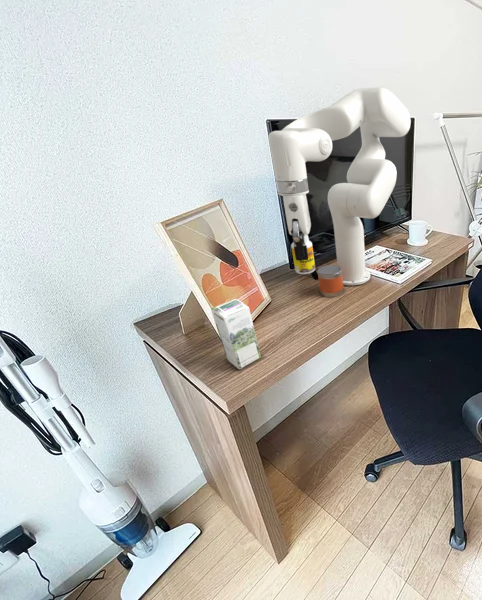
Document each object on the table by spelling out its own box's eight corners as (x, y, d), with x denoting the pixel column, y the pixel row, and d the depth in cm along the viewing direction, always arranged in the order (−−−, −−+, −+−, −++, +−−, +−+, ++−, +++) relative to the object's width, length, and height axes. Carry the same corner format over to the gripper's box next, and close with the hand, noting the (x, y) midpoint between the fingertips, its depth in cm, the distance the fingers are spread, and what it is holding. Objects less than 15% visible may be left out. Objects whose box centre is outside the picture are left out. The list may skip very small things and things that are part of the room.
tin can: (320, 287, 108) (317, 265, 104) (343, 285, 109) (341, 264, 105) (319, 298, 102) (316, 275, 98) (343, 296, 102) (341, 273, 98)
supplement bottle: (299, 276, 88) (293, 240, 83) (292, 270, 92) (286, 235, 87) (318, 271, 91) (314, 236, 86) (311, 265, 95) (306, 231, 90)
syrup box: (249, 348, 80) (234, 297, 73) (262, 358, 77) (248, 305, 69) (227, 360, 76) (209, 307, 69) (239, 371, 73) (222, 316, 66)
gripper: (305, 193, 73) (315, 267, 82) (310, 180, 88) (318, 243, 97) (271, 194, 72) (285, 269, 81) (282, 181, 87) (292, 245, 96)
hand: (303, 254), depth 89 cm, fingers closed on supplement bottle, 5 cm apart
